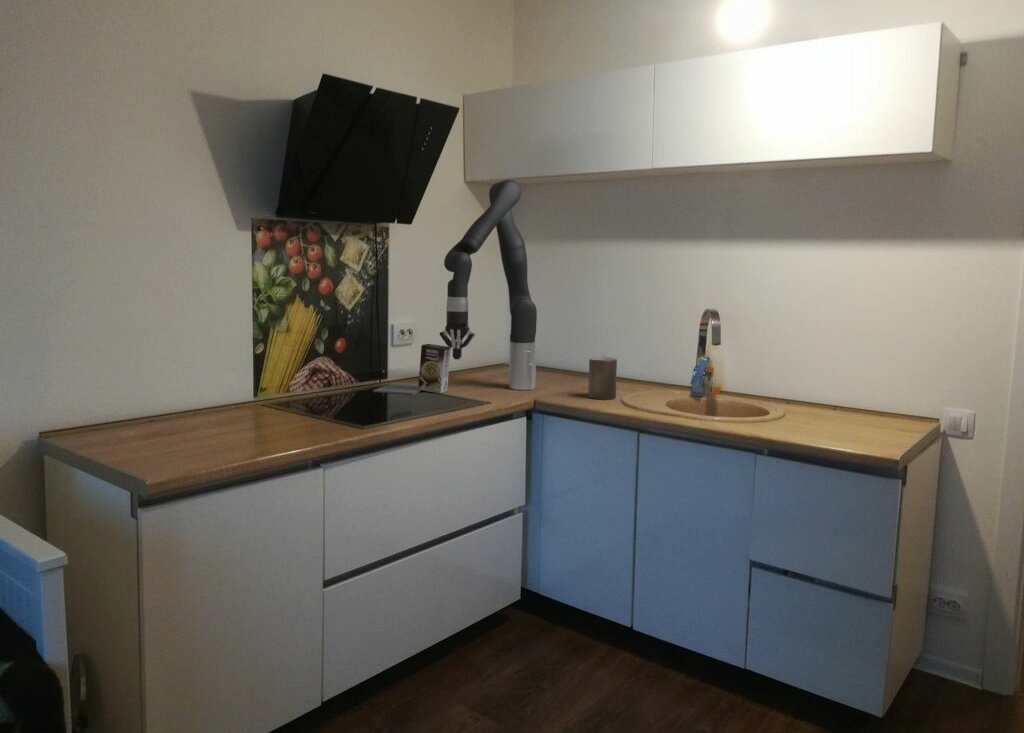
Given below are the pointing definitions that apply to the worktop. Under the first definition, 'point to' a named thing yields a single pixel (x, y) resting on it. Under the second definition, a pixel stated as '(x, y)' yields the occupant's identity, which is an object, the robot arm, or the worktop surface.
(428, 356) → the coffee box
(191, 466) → the worktop surface
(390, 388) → the mat
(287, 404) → the worktop surface
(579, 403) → the worktop surface
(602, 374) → the pillar candle
